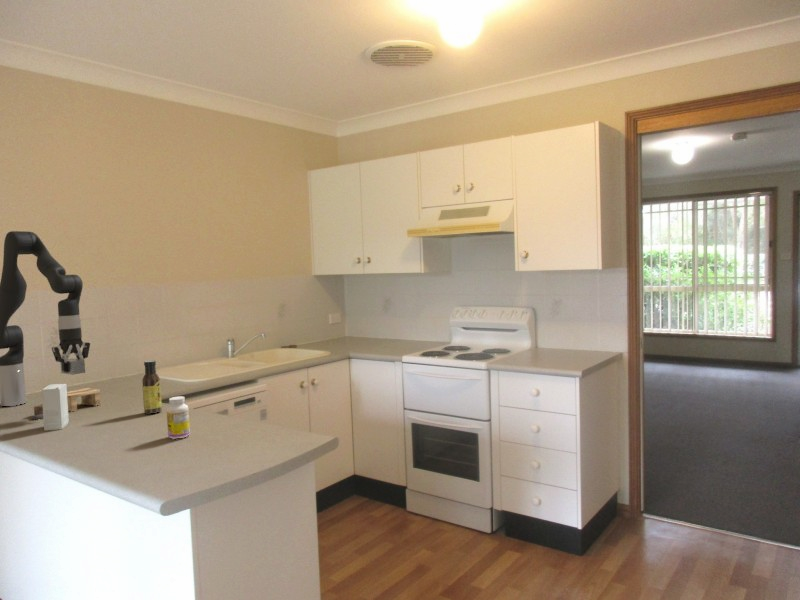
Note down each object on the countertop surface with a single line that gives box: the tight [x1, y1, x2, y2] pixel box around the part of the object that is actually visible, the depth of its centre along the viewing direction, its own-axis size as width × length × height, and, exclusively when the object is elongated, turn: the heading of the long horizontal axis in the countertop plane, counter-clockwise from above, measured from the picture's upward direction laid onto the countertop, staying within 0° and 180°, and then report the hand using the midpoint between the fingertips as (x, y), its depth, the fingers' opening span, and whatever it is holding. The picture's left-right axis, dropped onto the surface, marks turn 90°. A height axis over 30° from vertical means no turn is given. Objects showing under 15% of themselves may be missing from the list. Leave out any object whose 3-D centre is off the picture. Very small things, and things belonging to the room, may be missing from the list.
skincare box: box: [41, 383, 69, 431], centre depth 208 cm, size 8×6×15 cm
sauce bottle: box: [141, 360, 163, 415], centre depth 224 cm, size 6×6×20 cm
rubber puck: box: [31, 414, 44, 421], centre depth 222 cm, size 4×4×2 cm
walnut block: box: [33, 403, 43, 415], centre depth 227 cm, size 4×4×4 cm
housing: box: [59, 357, 86, 376], centre depth 226 cm, size 8×5×5 cm, turn 58°
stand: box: [67, 387, 101, 413], centre depth 238 cm, size 10×12×6 cm
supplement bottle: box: [166, 396, 191, 439], centre depth 190 cm, size 7×7×13 cm
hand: (72, 370), depth 226 cm, fingers closed on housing, 4 cm apart
